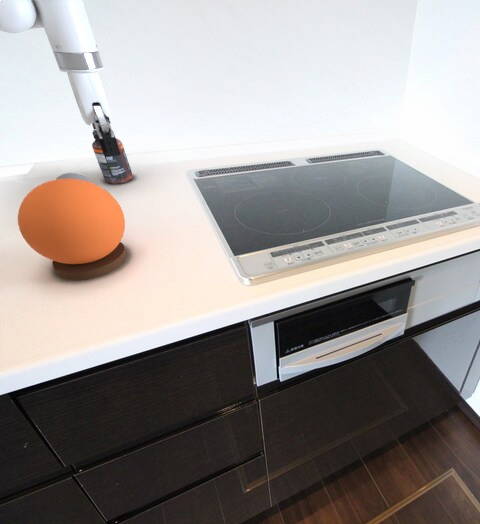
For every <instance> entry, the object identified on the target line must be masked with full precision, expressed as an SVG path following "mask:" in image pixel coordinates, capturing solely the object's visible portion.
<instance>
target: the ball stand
mask: <svg viewBox="0 0 480 524" xmlns="http://www.w3.org/2000/svg"><path fill="white" fill-rule="evenodd" d="M17 225H18V229H19V232H20V234H21V236H22V239H24V241H25V242H26V244H27V245H28V246H29V247H30V248H31V249H32V250H34V251H35V252H36V253H37V254H39V255H40V256H42V257H43V258H46V259H48V260H50V261H51V264H52V267H53V269H54V272H55V273H56V274H57V276H58V277H59V278H61V279H64V280H67V281H68V280H69V281H86V280H92V279H95V278H100V277H102V276H105V275H107V274H110V273H112V272H114V271H116V270H117V269H119V267H121V266H122V265H123V264H124V263H125V261H126V260H127V258H128V253H127V250H126V248H125V245H124V243H123V242H121V241H122V239H123V237H124V233H125V230H126V229H125V228H126V219H125V215H124V212H123V209H122V207H121V205H120V203H119V202H118V201H117V200H116V198H115V197H114V196H113V195H112V194H111V193H110V192H109V191H107V189H104V188H103V187H101V186H100V185H98V184H96V183H93V182H91V181H90V182H88V181H84V180H79V179H70V178H66V179H57V178H55V179H51V180H48V181H45V182H43V183H41V184H39V185H37V186H35V187H34V188H33V189H31V190H30V191H29V192H28V193H27V194H26V196H25V197H24V198H23V200H22V201H21V203H20V205H19V207H18V211H17Z"/></svg>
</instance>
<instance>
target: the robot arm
mask: <svg viewBox="0 0 480 524" xmlns="http://www.w3.org/2000/svg"><path fill="white" fill-rule="evenodd" d="M90 22H91V21H90V19H89V16H88V12H87V9H86V6H85V2H84V0H0V31H1V32H4V33H8V34H19V33H24V32H26V31H28V30H32V29H33V30H34V29H42V28H43V29H44V31H45V34H46V37H47V39H48V42H49V45H50V48H51V50H52V53H53V56H54V58H55V62H56V64H57V66H58V69H59V71H60V72H63V73H66V74H67V78H68V81H69V84H70V87H71V90H72V93H73V95H74V99H75V102H76V104H77V106H78V110H79V112H80V116H81V118H82V120H83V121H84V124H86V125H87V126H91V125H92V128H93V131H95V130H97V133H98V136H99V138H98V140H99V143H100V146H101V149H102V151H103V154H104V156H105V157H111V156H118V155H120V154H121V153H120V150H119V147H118V144H117V141H116V139H117V137H116V135H115V133H114V134H113V132H114V130H113V128H112V126H111V123H112V122H113V116H112V112H111V108H110V105H109V102H108V98H107V95H106V92H105V89H104V85H103V83H102V78H101V77H100V74H99V72H102V71H104V70H105V68H104V65H103V62H102V58H101V56H100V51H99V49H98V45H97V41H96V39H95V36H94V33H93V28H92V25H91V23H90ZM112 130H113V131H112ZM93 131H92V132H93ZM114 135H115V136H114Z"/></svg>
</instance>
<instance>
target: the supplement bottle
mask: <svg viewBox="0 0 480 524" xmlns="http://www.w3.org/2000/svg"><path fill="white" fill-rule="evenodd" d="M112 131H113V134H114V136H115V137H116V135H115V132H114V130H113V129H112ZM92 136H93V139H94V141H93V142H92V143H91V148H92V150H93V153H94V155H95V158H96V161H97V164H98V167H99V168H100V171H101V174H102V176H103V179H104V182H106V183H108V184H123V183H126V182H129V181H131V180H132V179H133V176H134V175H133V172H132V168H131V165H130V162H129V159H128V157H127V154H126V153H127V152H126V150H125V148H124V144H123V142H122V140H120V139H119V138H116V141H117V144H118V147H119V150H120V153H121V154H120V155H118V156H111V157H105V156H104V154H103V151H102V149H101V146H100V143H99V140H98V138H99V136H98V133H97V130H95V131H92Z"/></svg>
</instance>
